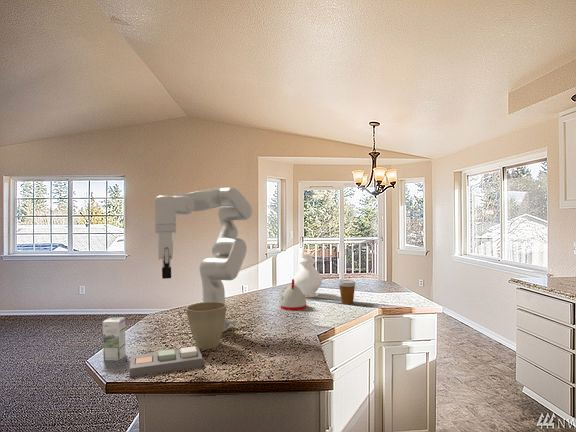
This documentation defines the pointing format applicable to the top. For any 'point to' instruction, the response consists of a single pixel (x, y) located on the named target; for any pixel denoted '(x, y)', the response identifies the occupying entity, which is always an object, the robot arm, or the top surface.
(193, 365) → the button panel
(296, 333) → the top surface
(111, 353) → the syrup box
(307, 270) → the decorative vase
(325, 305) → the top surface
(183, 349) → the cream button
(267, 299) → the top surface
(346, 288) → the disposable coffee cup
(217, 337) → the plant pot
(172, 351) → the sage button
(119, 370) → the top surface
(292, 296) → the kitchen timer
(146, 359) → the terracotta button
